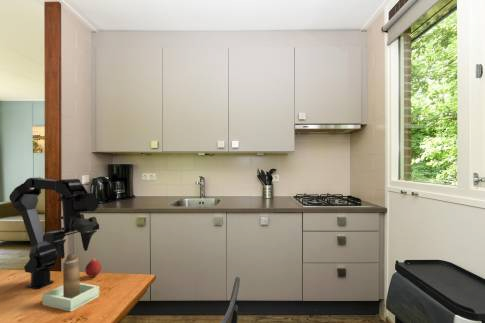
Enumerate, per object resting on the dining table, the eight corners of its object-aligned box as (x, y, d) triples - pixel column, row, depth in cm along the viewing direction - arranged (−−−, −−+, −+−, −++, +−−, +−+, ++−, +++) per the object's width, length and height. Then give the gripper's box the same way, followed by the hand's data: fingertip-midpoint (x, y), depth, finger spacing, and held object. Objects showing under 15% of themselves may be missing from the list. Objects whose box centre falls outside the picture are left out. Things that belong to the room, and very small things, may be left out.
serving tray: (42, 304, 93) (42, 294, 93) (72, 290, 104) (72, 281, 104) (70, 311, 89) (70, 300, 89) (99, 296, 99) (99, 286, 99)
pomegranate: (94, 281, 112) (94, 261, 112) (82, 280, 113) (82, 260, 113) (104, 275, 118) (104, 256, 118) (92, 274, 119) (92, 255, 119)
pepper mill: (61, 297, 96) (60, 254, 96) (76, 292, 100) (76, 250, 100) (66, 301, 93) (66, 257, 93) (82, 296, 97) (81, 253, 97)
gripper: (62, 216, 92) (66, 263, 92) (108, 207, 110) (111, 247, 109) (40, 217, 96) (43, 262, 96) (87, 208, 114) (90, 247, 113)
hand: (74, 254), depth 103 cm, fingers open, 9 cm apart
